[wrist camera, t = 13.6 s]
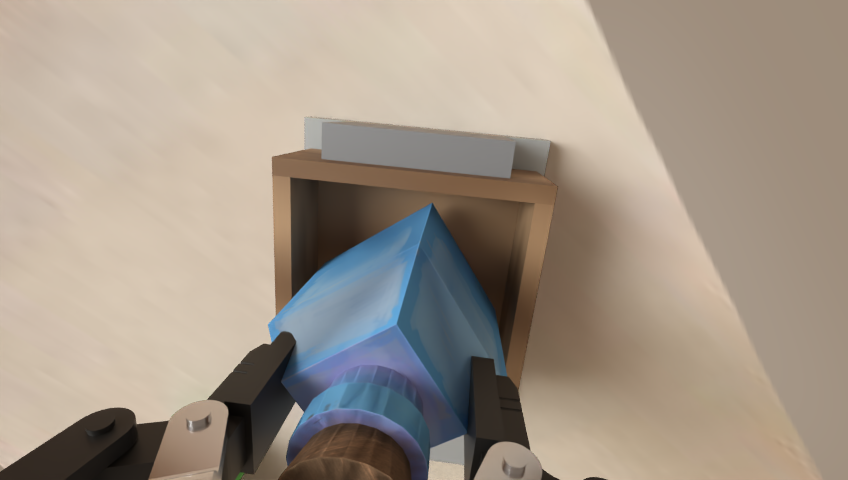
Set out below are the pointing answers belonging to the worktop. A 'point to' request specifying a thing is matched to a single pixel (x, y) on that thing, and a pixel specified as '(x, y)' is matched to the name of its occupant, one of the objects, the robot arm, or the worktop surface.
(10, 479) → the robot arm
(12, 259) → the worktop surface
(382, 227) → the box
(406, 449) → the perfume bottle
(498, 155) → the backstop board
